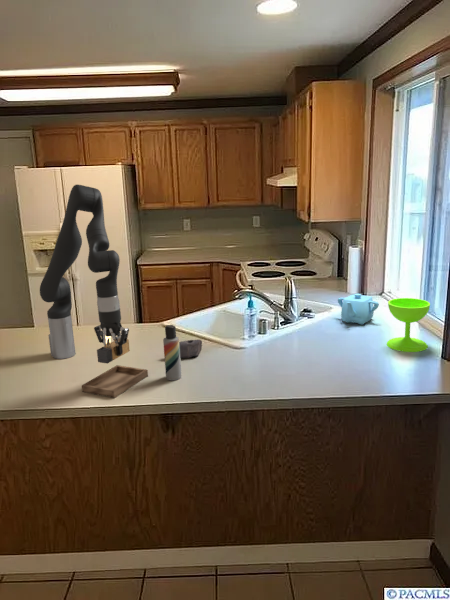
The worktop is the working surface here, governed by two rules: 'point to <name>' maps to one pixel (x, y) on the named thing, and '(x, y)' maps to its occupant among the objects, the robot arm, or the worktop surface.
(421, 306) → the wineglass
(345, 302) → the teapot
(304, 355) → the worktop surface
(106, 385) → the brown wooden tray
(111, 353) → the battery cell
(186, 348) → the perforated stone tool
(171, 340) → the lotion bottle
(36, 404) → the worktop surface
